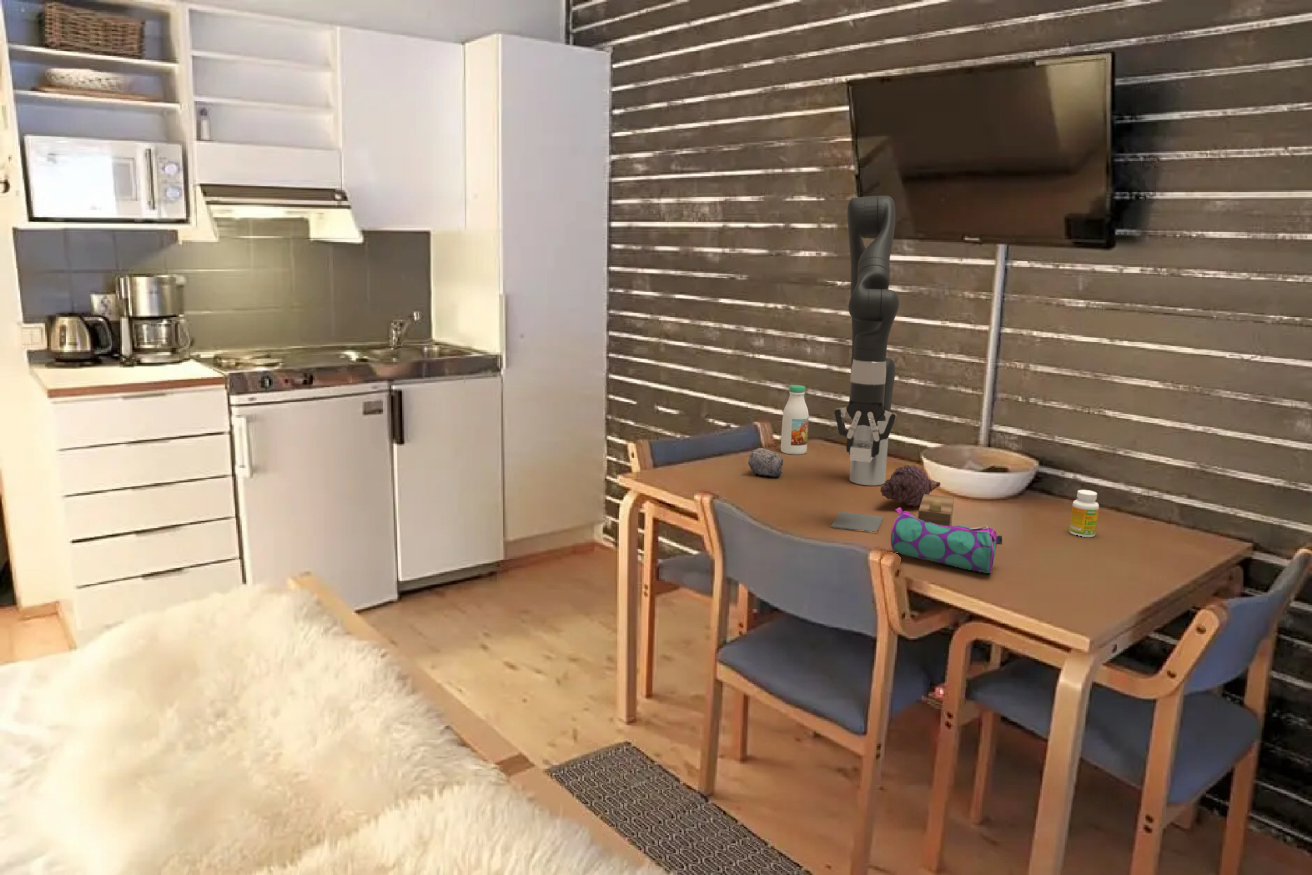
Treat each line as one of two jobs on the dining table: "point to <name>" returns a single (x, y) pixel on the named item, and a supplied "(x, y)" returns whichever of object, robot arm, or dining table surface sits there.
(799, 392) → the milk bottle
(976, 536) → the pencil case
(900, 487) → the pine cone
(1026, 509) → the dining table surface
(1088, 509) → the supplement bottle
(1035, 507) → the dining table surface
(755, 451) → the pumice stone
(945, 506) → the body
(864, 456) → the lever cap
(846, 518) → the mat
